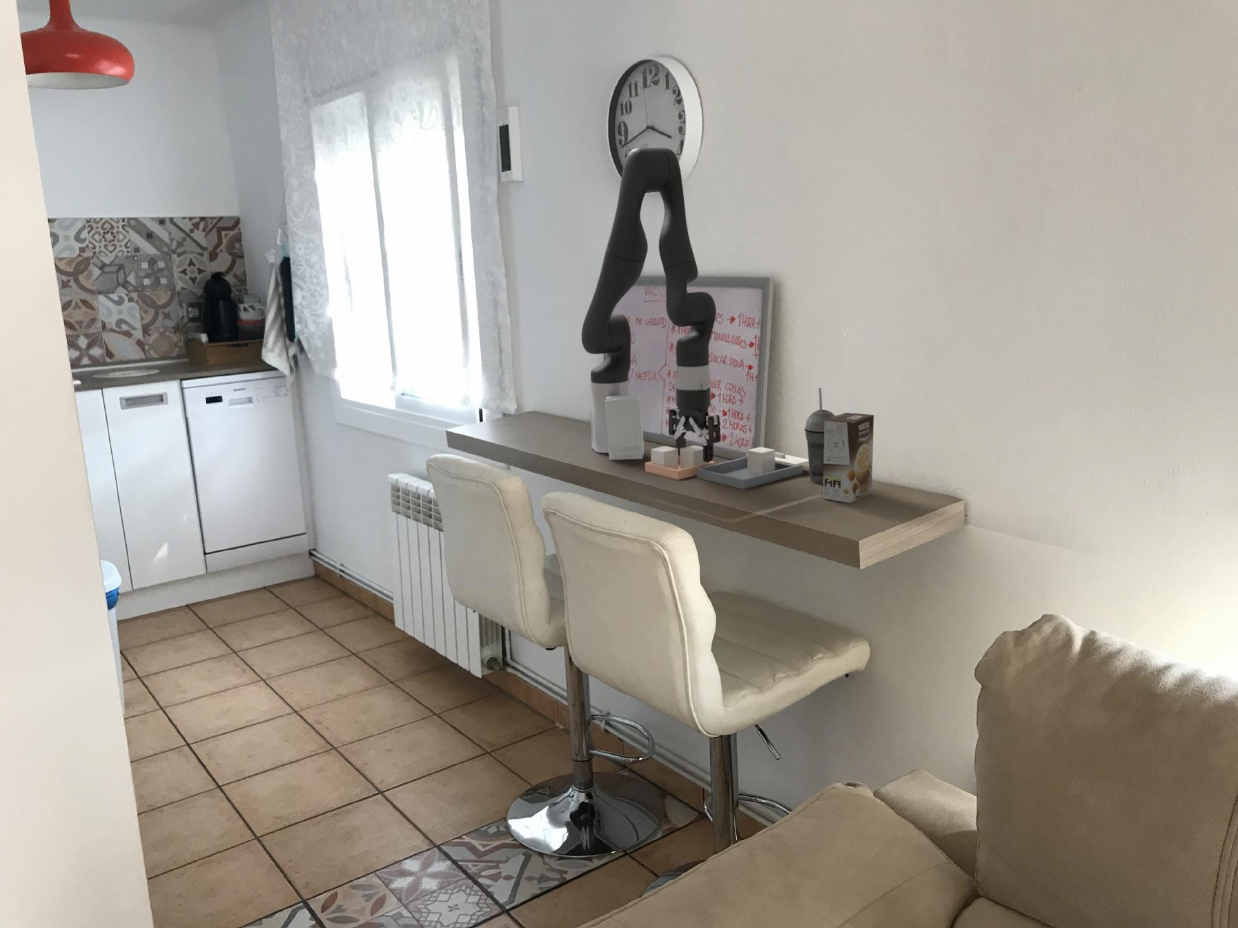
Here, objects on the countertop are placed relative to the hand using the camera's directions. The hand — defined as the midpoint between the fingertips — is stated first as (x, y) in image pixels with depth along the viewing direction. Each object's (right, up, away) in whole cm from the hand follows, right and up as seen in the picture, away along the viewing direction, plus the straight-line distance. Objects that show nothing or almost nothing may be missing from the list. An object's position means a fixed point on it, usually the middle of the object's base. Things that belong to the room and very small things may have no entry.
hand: (694, 458), depth 218 cm
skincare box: (-15, 0, +18) cm, 24 cm away
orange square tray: (-3, -3, +1) cm, 5 cm away
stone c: (+14, -3, -3) cm, 15 cm away
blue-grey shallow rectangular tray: (+12, -4, -4) cm, 14 cm away
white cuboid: (0, -3, +1) cm, 3 cm away
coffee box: (+29, -8, -22) cm, 37 cm away
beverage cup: (+26, -6, -12) cm, 29 cm away
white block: (-6, -3, +1) cm, 7 cm away
